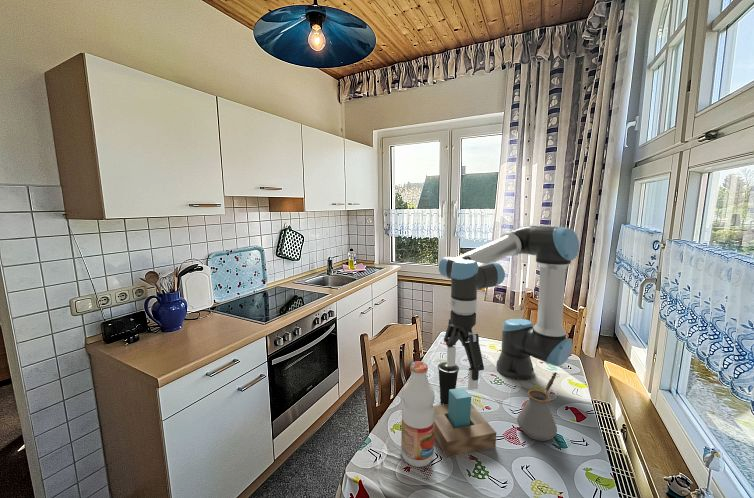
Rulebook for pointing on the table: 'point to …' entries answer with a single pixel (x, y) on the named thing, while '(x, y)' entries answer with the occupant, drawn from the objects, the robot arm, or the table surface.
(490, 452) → the table surface
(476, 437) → the socket block
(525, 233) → the robot arm
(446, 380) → the drinking cup
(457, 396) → the peg
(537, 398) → the coffee pot
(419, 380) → the fruit juice
